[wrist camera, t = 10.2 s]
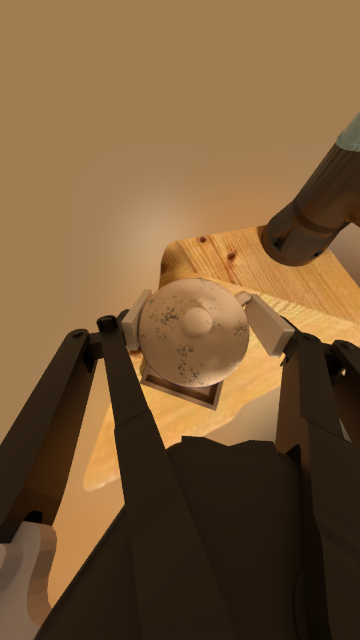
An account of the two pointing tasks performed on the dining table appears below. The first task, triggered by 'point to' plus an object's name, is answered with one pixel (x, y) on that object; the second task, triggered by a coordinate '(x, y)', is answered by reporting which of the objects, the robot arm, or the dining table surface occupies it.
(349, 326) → the dining table surface
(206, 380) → the teacup with lid
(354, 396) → the robot arm
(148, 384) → the walnut tray
